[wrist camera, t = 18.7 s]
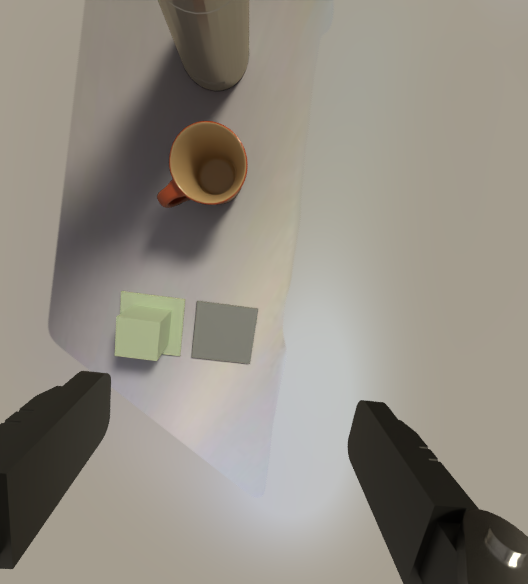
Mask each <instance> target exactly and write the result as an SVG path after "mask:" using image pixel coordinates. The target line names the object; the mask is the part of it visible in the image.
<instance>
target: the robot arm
mask: <svg viewBox="0 0 528 584" xmlns="http://www.w3.org/2000/svg"><path fill="white" fill-rule="evenodd" d="M158 2H159V5H160V7H161V10H162V12H163V15H164V17H165V20H166V22H167V25H168V27H169V30H170V32H171V35H172V38H173V40H174V43H175V45H176V48H177V50H178V53H179V55H180V58H181V60H182V63H183V65H184V67H185V69H186V71H187V73H188V74H189V76H190V77H191V78H192V79H193V80H194V81H195V82H196V83H197V84H198V85H200V86H202V87H203V88H206V89H209V90H216V91H219V90H225V89H228V88H230V87H232V86H233V85H235V84H236V83H237V82H238V81H239V80H240V79H241V78H242V76H243V74H244V72H245V71H246V68H247V64H248V59H249V0H158ZM110 395H111V377H110V375H109V374H108V373H99V372H89V371H81V372H79V373H78V374H76V375H75V376H74V377H73V378H72V379H70V380H69V381H68V382H67V383H66V384H65V385H64V386H56V387H54V388H52V389H50V390H48V391H45V392H43V393H41V394H39V395H37V396H35V397H34V398H33V399H32V400H30V401H29V402H28V403H27V404H25V405H24V406H23V407H22V408H20V410H19V412H15V413H14V414H13V415H11V416H10V417H9V418H8V419H6V420H5V423H1V424H0V569H13V568H14V567H15V565H16V564H17V562H18V561H19V560H20V558H21V557H22V555H23V554H24V552H25V551H26V549H27V548H28V547H29V545H30V544H31V542H32V541H33V539H34V538H35V536H36V535H37V534H38V532H39V531H40V529H41V528H42V526H43V525H44V523H45V522H46V520H47V519H48V518H49V516H50V515H51V513H52V512H53V510H54V509H55V507H56V506H57V505H58V503H59V502H60V500H61V499H62V497H63V496H64V494H65V493H66V491H67V490H68V489H69V487H70V486H71V484H72V483H73V481H74V480H75V478H76V477H77V476H78V474H79V473H80V471H81V470H82V468H83V467H84V465H85V464H86V462H87V461H88V460H89V458H90V457H91V455H92V454H93V452H94V451H95V449H96V448H97V447H98V445H99V444H100V442H101V441H102V439H103V437H104V435H105V433H106V431H107V428H108V424H109V419H110ZM348 455H349V459H350V462H351V464H352V466H353V469H354V471H355V473H356V476H357V478H358V480H359V483H360V485H361V487H362V489H363V492H364V494H365V496H366V499H367V501H368V503H369V506H370V508H371V510H372V512H373V515H374V517H375V519H376V522H377V524H378V526H379V529H380V531H381V533H382V536H383V538H384V540H385V542H386V545H387V547H388V549H389V552H390V554H391V556H392V558H393V561H394V563H395V565H396V568H397V570H398V572H399V575H400V577H401V579H402V581H403V584H528V536H526V535H525V534H524V533H523V532H522V531H520V530H519V529H518V528H517V527H515V526H514V525H512V524H511V523H510V522H508V521H506V520H505V519H503V518H501V517H499V516H497V515H495V514H493V513H490V512H488V511H484V510H480V509H478V507H477V506H476V505H475V504H474V502H473V501H472V500H471V499H470V498H469V497H468V495H467V494H466V493H465V491H464V490H463V489H462V488H461V487H460V485H459V484H458V483H457V482H456V480H455V479H454V478H453V477H452V476H451V474H450V473H449V472H448V471H447V469H446V468H445V467H444V466H443V465H442V463H441V462H438V460H437V457H436V456H435V455H434V454H433V453H432V451H431V450H430V449H428V446H427V445H426V444H425V443H424V441H423V440H422V439H421V438H420V436H419V435H418V434H417V433H416V432H415V431H414V430H412V429H411V428H410V427H408V426H407V425H406V424H405V423H404V422H402V421H401V420H398V419H397V418H396V416H395V415H394V414H393V413H392V411H391V410H390V409H389V407H388V406H387V405H386V404H385V403H383V402H374V401H364V400H361V401H359V403H358V405H357V408H356V411H355V415H354V419H353V423H352V427H351V431H350V435H349V438H348Z"/></svg>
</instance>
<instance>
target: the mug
mask: <svg viewBox="0 0 528 584" xmlns="http://www.w3.org/2000/svg"><path fill="white" fill-rule="evenodd" d="M169 167H170V173H171V175H172V178H173V179H172V180H171V181H170V183H169V184H168V185H167V186H166V187H165V188H164V189H162V190H161V191H160V192H159V193H158V195H157V199H158V201H159V203H160V204H161V205H162V206H163V207H165V208H170V207H174V206H177V205H179V204H181V203H183V202H186V201H189V200H193V201H195V202H198V203H201V204H207V205H214V204H216V205H219V204H225V203H227V202H230V201H231V200H233V199H234V198H235V197H236V196H237V195H238V193H239V192H240V190H241V187H242V185H243V183H244V181H245V178H246V174H247V156H246V152H245V149H244V147H243V145H242V143H241V141H240V140H239V138H238V137H237V136H236V135H235V134H234V132H232V131H231V130H230V129H229V128H227V127H226V126H224V125H222V124H219V123H216V122H212V121H200V122H196V123H193V124H191V125H189V126H187V127H186V128H184V129H183V130H182V131H181V132H180V133H179V134H178V135H177V137H176V138H175V140H174V142H173V144H172V147H171V150H170V156H169Z"/></svg>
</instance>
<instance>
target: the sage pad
mask: <svg viewBox="0 0 528 584" xmlns="http://www.w3.org/2000/svg"><path fill="white" fill-rule="evenodd" d="M133 305H138V306H145V307H153V308H160V309H167V310H172V314H171V324H170V335H169V344H168V346H167V347H166V349H165V350H164V351H163V353H162V354H165V355H174V356H180V352H181V341H182V330H183V319H184V307H185V299H179V298H171V297H164V296H156V295H148V294H140V293H133V292H125V291H121V307H120V314H121V313H123V312H124V311H126V310H127V309H129V308H130V307H132V306H133Z"/></svg>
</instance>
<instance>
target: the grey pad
mask: <svg viewBox="0 0 528 584" xmlns="http://www.w3.org/2000/svg"><path fill="white" fill-rule="evenodd" d="M257 313H258V309H257V308H249V307H241V306H234V305H226V304H218V303H210V302H202V301H197V309H196V319H195V329H194V339H193V349H192V358H201V359H210V360H219V361H228V362H237V363H246V364H250V359H251V353H252V346H253V339H254V333H255V326H256V320H257Z"/></svg>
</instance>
